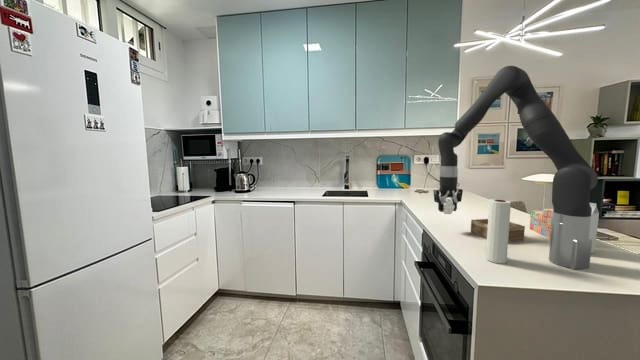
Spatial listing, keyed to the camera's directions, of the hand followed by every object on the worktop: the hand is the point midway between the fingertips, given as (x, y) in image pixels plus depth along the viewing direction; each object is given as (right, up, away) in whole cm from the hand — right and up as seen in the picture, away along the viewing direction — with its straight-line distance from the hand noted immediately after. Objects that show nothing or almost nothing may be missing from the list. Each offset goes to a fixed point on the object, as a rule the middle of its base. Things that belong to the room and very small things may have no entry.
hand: (447, 211), depth 125 cm
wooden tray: (+19, -11, -6) cm, 23 cm away
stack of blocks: (+43, -11, -7) cm, 45 cm away
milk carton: (+38, -13, -24) cm, 47 cm away
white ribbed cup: (0, -1, 0) cm, 1 cm away
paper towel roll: (+2, -14, -32) cm, 34 cm away
